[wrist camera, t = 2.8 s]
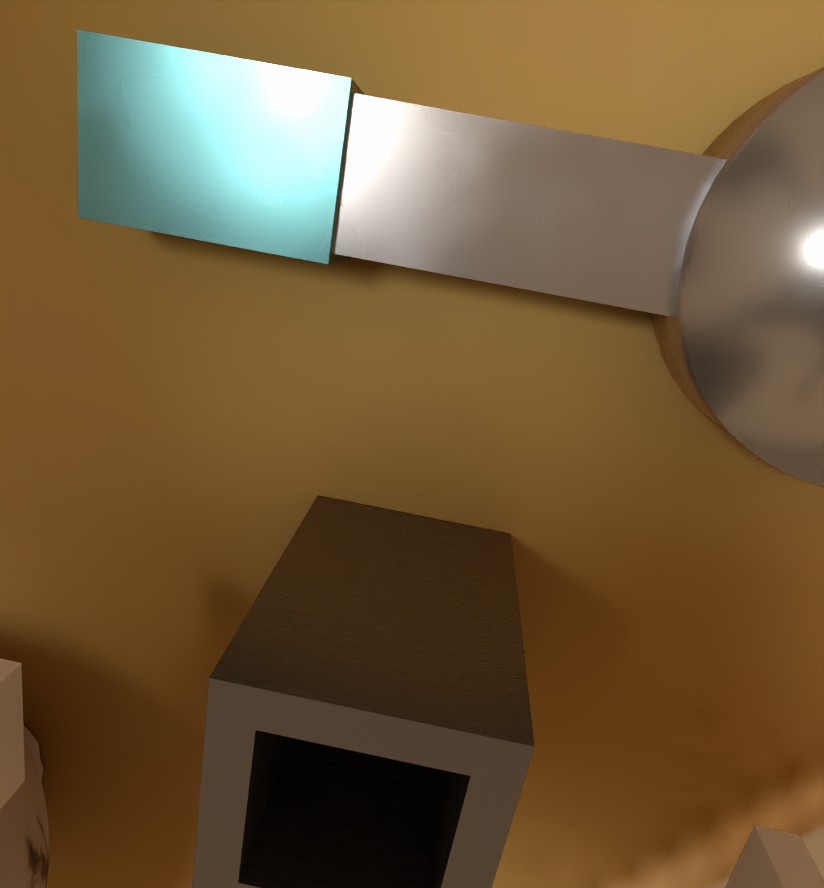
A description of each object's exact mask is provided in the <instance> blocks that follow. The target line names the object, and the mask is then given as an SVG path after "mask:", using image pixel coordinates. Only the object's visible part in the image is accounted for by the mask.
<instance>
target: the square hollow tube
mask: <svg viewBox="0 0 824 888" xmlns="http://www.w3.org/2000/svg"><path fill="white" fill-rule="evenodd" d="M533 750H534V739H533V730H532V721H531V712H530V703H529V694H528V686H527V677H526V668H525V659H524V650H523V641H522V632H521V623H520V615H519V606H518V597H517V588H516V579H515V570H514V561H513V552H512V544H511V535H510V534H507V533H502V532H497V531H492V530H487V529H482V528H477V527H472V526H467V525H462V524H457V523H452V522H447V521H442V520H437V519H433V518H428V517H423V516H418V515H413V514H408V513H403V512H398V511H393V510H388V509H383V508H378V507H373V506H368V505H363V504H358V503H353V502H348V501H343V500H338V499H333V498H328V497H323V496H317V498H316V499H315V501H314V503H313V504H312V506H311V508H310V509H309V511H308V513H307V514H306V516H305V518H304V519H303V521H302V523H301V524H300V526H299V528H298V529H297V531H296V533H295V535H294V536H293V538H292V540H291V541H290V543H289V545H288V546H287V548H286V550H285V551H284V553H283V555H282V556H281V558H280V560H279V561H278V563H277V565H276V566H275V568H274V570H273V571H272V573H271V575H270V576H269V578H268V580H267V581H266V583H265V585H264V587H263V588H262V590H261V592H260V593H259V595H258V597H257V598H256V600H255V602H254V603H253V605H252V607H251V608H250V610H249V612H248V613H247V615H246V617H245V618H244V620H243V622H242V623H241V625H240V627H239V628H238V630H237V632H236V633H235V635H234V637H233V638H232V640H231V642H230V644H229V645H228V647H227V649H226V650H225V652H224V654H223V655H222V657H221V659H220V660H219V662H218V664H217V665H216V667H215V669H214V670H213V672H212V674H211V675H210V677H209V684H208V697H207V709H206V721H205V734H204V746H203V759H202V771H201V784H200V796H199V808H198V821H197V833H196V846H195V858H194V871H193V883H192V888H492V884H493V881H494V878H495V874H496V871H497V868H498V865H499V861H500V858H501V855H502V851H503V848H504V845H505V842H506V838H507V835H508V832H509V828H510V825H511V822H512V819H513V815H514V812H515V809H516V806H517V802H518V799H519V796H520V792H521V789H522V786H523V783H524V779H525V776H526V773H527V769H528V766H529V763H530V760H531V756H532V753H533Z"/></svg>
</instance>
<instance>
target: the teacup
mask: <svg viewBox="0 0 824 888" xmlns="http://www.w3.org/2000/svg"><path fill="white" fill-rule="evenodd" d="M23 731H24V764H25V781H24V782H23V783H22V784H21V786H20V787H19V788H18V789H17V790H16V792H15V793H14V794H13V795H12V796H11V797H10V799H9V800H8V801H7V802H6V803H5V805H4V806H3V807H2V808H1V809H0V888H46V885H47V876H48V866H49V824H48V816H47V808H46V802H45V796H44V790H43V787H42V783H41V780H42V775H43V766H42V763H41V759H40V754H39V743H38V742H37V740H36V739H35V738H34V736H33V735H32V734H31V732H30V731H29V730H28V729H27V728H26V727H25V726H24V724H23Z"/></svg>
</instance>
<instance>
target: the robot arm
mask: <svg viewBox="0 0 824 888" xmlns="http://www.w3.org/2000/svg"><path fill="white" fill-rule="evenodd" d="M24 781H25V764H24V731H23V697H22V663H18V662H14V661H9V660H5V659H0V809H1V808H2V807H3V806H4V805H5V803H6V802H7V801H8V800H9V799H10V797H11V796H12V795H13V794H14V793H15V792H16V790H17V789H18V788H19V787H20V786H21V784H22V783H23V782H24ZM725 888H824V880H823V878H822V876H821V874H820V872H819V870H818V869H817V867H816V865H815V863H814V861H813V859H812V858H811V855H810V854H809V852H808V850H807V848H806V846H805V844H804V842H803V841H802V839H801V837H800V835H797V834H793V833H788V832H783V831H779V830H774V829H770V828H765V827H761V826H756V825H754V827H753V829H752V831H751V833H750V836H749V838H748V840H747V842H746V844H745V846H744V849H743V851H742V853H741V855H740V857H739V859H738V861H737V864H736V866H735V868H734V870H733V872H732V874H731V876H730V879H729V881H728V883H727V885H726V887H725Z"/></svg>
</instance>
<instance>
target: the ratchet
mask: <svg viewBox="0 0 824 888" xmlns="http://www.w3.org/2000/svg"><path fill="white" fill-rule="evenodd" d="M77 177H78V218H84V219H89V220H94V221H100V222H105V223H110V224H116V225H121V226H126V227H132V228H137V229H142V230H148V231H153V232H159V233H164V234H169V235H175V236H180V237H185V238H191V239H196V240H201V241H207V242H212V243H217V244H223V245H228V246H233V247H239V248H244V249H249V250H255V251H260V252H265V253H271V254H276V255H281V256H287V257H292V258H297V259H303V260H308V261H313V262H319V263H324V264H331V263H336V262H340V261H344V260H349V259H350V257H354V258H360V259H365V260H371V261H376V262H381V263H387V264H392V265H397V266H403V267H408V268H413V269H419V270H424V271H429V272H435V273H440V274H445V275H451V276H456V277H462V278H467V279H472V280H478V281H483V282H488V283H494V284H499V285H504V286H510V287H515V288H520V289H526V290H531V291H536V292H542V293H547V294H553V295H558V296H563V297H569V298H574V299H579V300H585V301H590V302H595V303H601V304H606V305H611V306H617V307H622V308H627V309H633V310H638V311H644V312H649V313H651V315H652V321H653V326H654V332H655V336H656V339H657V343H658V346H659V349H660V352H661V355H662V357H663V359H664V361H665V363H666V365H667V367H668V369H669V371H670V373H671V375H672V377H673V378H674V380H675V381H676V383H677V384H678V386H679V387H680V388H681V390H682V391H683V393H684V394H685V395H686V396H687V397H688V398H689V399H690V400H691V401H692V403H693V404H694V405H695V406H696V407H697V408H698V409H699V410H700V411H702V412H703V413H704V414H705V415H707V416H708V417H709V418H710V419H711V420H713V421H714V422H715V423H716V424H718V425H719V426H720V427H721V428H723V429H724V430H725V431H726V432H728V433H729V434H730V435H731V436H733V437H734V438H735V439H736V440H738V441H739V442H740V443H741V444H742V445H744V446H745V447H746V448H748V449H749V450H750V451H751V452H753V453H754V454H755V455H757V456H758V457H759V458H760V459H762V460H763V461H765V462H767V463H768V464H770V465H772V466H773V467H775V468H777V469H779V470H780V471H782V472H784V473H786V474H788V475H791V476H793V477H796V478H798V479H801V480H803V481H806V482H808V483H811V484H815V485H819V486H823V487H824V67H823V68H821V69H818V70H816V71H814V72H812V73H810V74H808V75H806V76H803V77H801V78H799V79H797V80H795V81H793V82H791V83H789V84H786V85H785V86H783V87H781V88H780V89H778V90H776V91H775V92H773V93H772V94H770V95H768V96H767V97H765V98H763V99H762V100H760V101H759V102H757V103H756V104H755V105H754V106H752V107H751V108H750V109H748V110H747V111H746V112H745V113H743V114H742V115H741V116H739V117H738V118H737V119H736V120H735V121H733V122H732V123H731V124H730V125H729V126H728V127H727V128H726V129H725V130H724V131H723V132H722V133H721V134H720V135H719V136H718V137H717V138H716V139H715V140H714V141H713V142H712V144H711V145H710V146H709V147H708V148H707V150H706V151H705V152H704V153H703V154H702V155H698V154H692V153H687V152H681V151H675V150H670V149H664V148H658V147H653V146H647V145H642V144H636V143H630V142H625V141H619V140H613V139H608V138H602V137H597V136H591V135H585V134H580V133H574V132H568V131H563V130H557V129H552V128H546V127H540V126H535V125H529V124H523V123H518V122H512V121H507V120H501V119H495V118H490V117H484V116H478V115H473V114H467V113H462V112H456V111H450V110H445V109H439V108H433V107H428V106H422V105H417V104H411V103H405V102H400V101H394V100H388V99H383V98H377V97H372V96H366V95H365V94H364V93H363V92H362V91H361V89H360V88H359V87H358V86H357V84H356V83H355V82H354V81H353V80H352V78H348V77H343V76H337V75H332V74H326V73H320V72H315V71H309V70H303V69H298V68H292V67H286V66H281V65H275V64H269V63H264V62H258V61H252V60H247V59H241V58H235V57H230V56H224V55H218V54H213V53H207V52H202V51H196V50H190V49H185V48H179V47H173V46H168V45H162V44H156V43H151V42H145V41H139V40H134V39H128V38H122V37H117V36H111V35H105V34H100V33H94V32H89V31H83V30H77Z"/></svg>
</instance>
